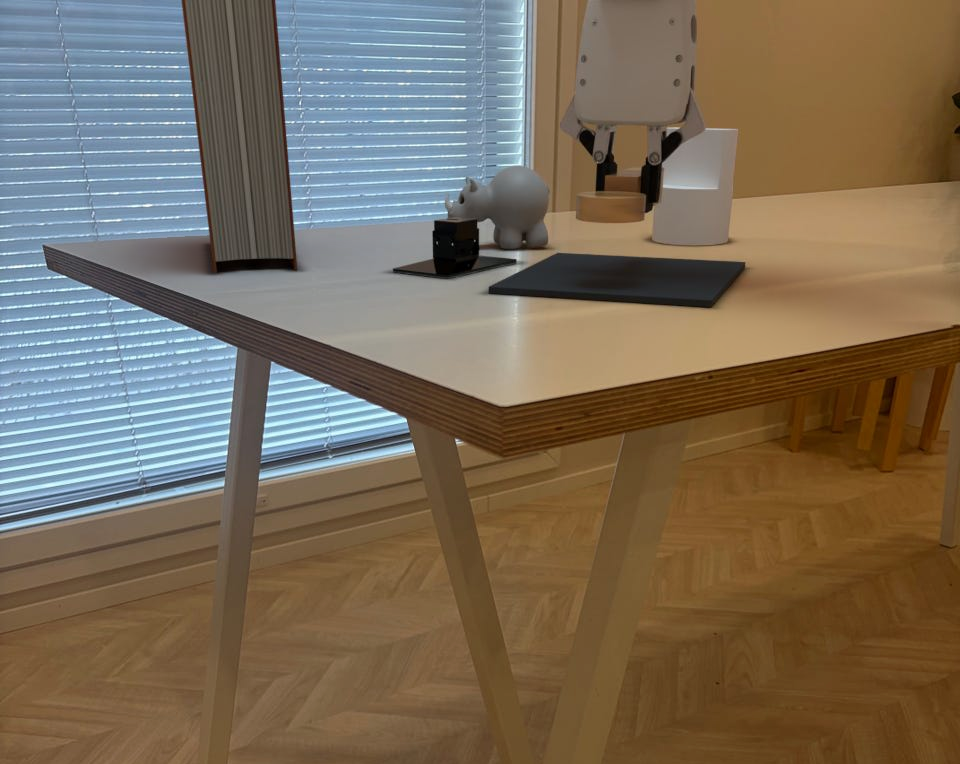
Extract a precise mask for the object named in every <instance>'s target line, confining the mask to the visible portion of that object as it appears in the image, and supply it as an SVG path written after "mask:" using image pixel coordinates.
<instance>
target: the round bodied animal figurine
mask: <svg viewBox="0 0 960 764" xmlns="http://www.w3.org/2000/svg"><path fill="white" fill-rule="evenodd" d="M464 180H465V186H464V187H463V188H462V189H461V191H460V192H459V195H458V198H457V200H456V199H455V198H453V199H452V202H451V200H450V197H449V195H450V194H449V193H447V194H446V195H445V199H444V207H445V209H446V211H447V218H452V217H460V218H472V219H477V223H482V222H485V221H486V220H487V219H488V220H490V221H491V222H492V224H493V225H494V229H493V235H492V236H493V238H492V239H493V242H494V243H495V244H498V245H499V246H500V247H501V248H502V249H506V250H514V249H515V250H516V249H519V248H521V247H522V246H523V242H525V245H526V247H528V248H541V247H545V246H547V245H548V244H549V233H548V229H547V226H546V224H545V222H544V219H545V217H546V215H547V212H548V209H549V202H550V187H549V186H548V185H547V183H546V182H545V181H544V179H543V178H542V177H541V176H540V174H538V172H536V171H535V170H533V169H532V168H530V167H527V166H525V165H511V166H508V167H505V168H503V169H501V170H500V171H499V172H497V173H496V174H495V176H494V177H493V178H492V179H491V181H490V182H489V184H488V185H485V184H482V183H480V182H476V181H475V180H474V179H473V178H469V176H465V178H464Z"/></svg>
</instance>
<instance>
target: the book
mask: <svg viewBox="0 0 960 764" xmlns="http://www.w3.org/2000/svg"><path fill="white" fill-rule="evenodd" d="M276 3H277V2H276V0H181V6H182V8H181V9H182V17H183V25H184V33H185V43H186V50H187V58H188V59H187V60H188V66H189V67H188V68H189V75H190V84H191V91H192V100H193V101H192V102H193V109H194V117H195V125H196V126H195V127H196V133H197V142H198V152H199V159H200V166H201V168H200V169H201V175H202V183H203V193H204V201H205V209H206V218H207V226H208V227H207V228H208V235H209V243H210V249H211V257H212V263H213V269H214V274H215V275H216V274H217V275H218V268H217V262H225V261H226V262H227V261H236V260H239V261H240V260H256V259H260V260H261V259H287V260H289V262H290V264H291V266H292V268H293V269H294V271H298V262H297V261H298V260H297V247H296V236H295V235H296V234H295V224H294V213H293V210H294V209H293V199H292V187H291V185H292V184H291V176H290V174H291V173H290V163H289V161H290V160H289V151H288V139H287V138H288V137H287V127H286V126H287V125H286V115H285V114H286V113H285V103H284V90H283V79H282V66H281V55H280V54H281V53H280V41H279V40H280V39H279V29H278V17H277V6H276V5H277V4H276Z"/></svg>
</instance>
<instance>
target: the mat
mask: <svg viewBox="0 0 960 764" xmlns="http://www.w3.org/2000/svg"><path fill="white" fill-rule="evenodd" d="M745 269H746V262H745V261H733V260H731V261H730V260H713V259H711V260H710V259H694V258H693V259H692V258H675V257H674V258H672V257H670V258H669V257H653V256H652V257H651V256H650V257H649V256H633V255H632V256H629V255H614V254H613V255H612V254H611V255H609V254H592V253H571V252H570V253H569V252H556V253H554V254H551V255H550V256H548V257H546V258H544V259H542V260H540V261H538V262H536V263H534V264H532V265H529V266H528V267H526V268H524V269H521V270H520V271H517V272H516V273H513V274H511V275H509V276H507V277H505V278H503V279H501V280H499V281H497V282H495V283H493V284H491V285H489V286H488V294H494V295H510V296H511V295H512V296H524V297H525V296H526V297H540V298H541V297H543V298H556V299H558V298H559V299H572V300H573V299H574V300H587V301H588V300H589V301H606V302H621V303H634V304H635V303H637V304H651V305H652V304H653V305H669V306H683V307H684V306H685V307H701V308H712V307H713V305H714V304H715V303H716V302H717V301H718V300H719V299H720V297H721V296H722V295H723V294H724V293H725V292H726V290H727V289H728V288H729V287H730V286H731V285H732V284H733V282H734V281H736V279H737V278H738V277H739V276H740V275H741V273H742V272H743V271H744V270H745Z"/></svg>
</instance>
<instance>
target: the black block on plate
mask: <svg viewBox="0 0 960 764" xmlns="http://www.w3.org/2000/svg"><path fill="white" fill-rule="evenodd" d="M431 233H432V235H431V237H432V258H429V259H426V260H422V261H418V262H417V261H416V262H412V263H409V264H405V265H402V266H397V267H393V268H392V272H393V273H399V274H407V275H414V276H415V275H416V276H424V277H431V278H439V279H440V278H441V279H453V278H457V277H460V276H465V275H468V274H469V275H470V274H474V273H478V272H482V271H486V270H491V269H494V268H500V267H502V266H512V265H515V264H517V263H518V261H517V260H518V259H517V258H510V257H499V256H492V255H481V254H480V228H479V227H478V222H477V219H472V218H460V217H452V218H448V217H446V218H441V219H440V218H439V219H435V220H433V230H432V231H431Z"/></svg>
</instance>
